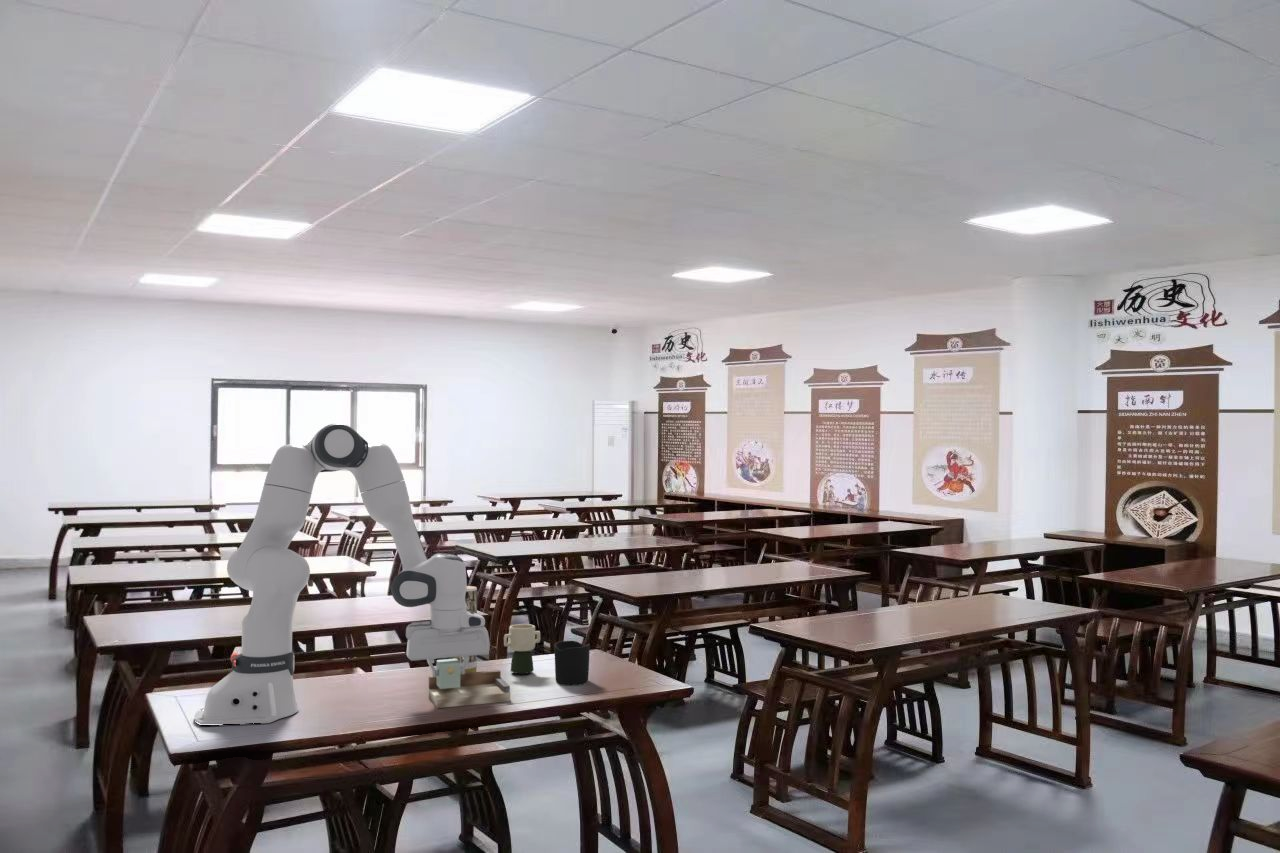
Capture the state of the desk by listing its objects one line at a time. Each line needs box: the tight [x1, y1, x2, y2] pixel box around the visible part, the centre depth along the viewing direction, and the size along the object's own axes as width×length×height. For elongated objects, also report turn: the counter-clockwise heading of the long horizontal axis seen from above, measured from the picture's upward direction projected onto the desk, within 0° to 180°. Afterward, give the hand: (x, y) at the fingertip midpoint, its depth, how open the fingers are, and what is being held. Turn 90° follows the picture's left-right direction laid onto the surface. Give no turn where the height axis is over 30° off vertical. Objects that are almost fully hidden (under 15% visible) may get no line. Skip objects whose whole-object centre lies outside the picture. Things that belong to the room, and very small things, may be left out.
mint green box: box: [435, 658, 460, 689], centre depth 239 cm, size 5×6×6 cm
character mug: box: [503, 623, 541, 675], centre depth 267 cm, size 11×7×13 cm, turn 121°
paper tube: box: [450, 585, 478, 673], centre depth 257 cm, size 7×7×25 cm
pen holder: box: [553, 640, 591, 686], centre depth 258 cm, size 9×9×10 cm
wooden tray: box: [428, 669, 511, 709], centre depth 240 cm, size 18×12×5 cm, turn 112°
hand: (448, 675), depth 240 cm, fingers closed on mint green box, 5 cm apart
